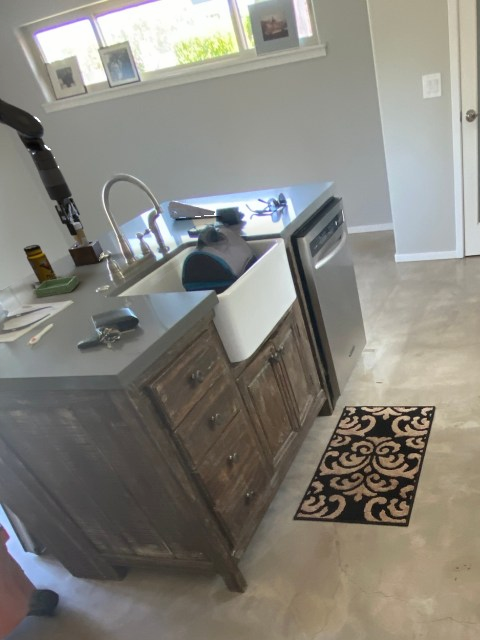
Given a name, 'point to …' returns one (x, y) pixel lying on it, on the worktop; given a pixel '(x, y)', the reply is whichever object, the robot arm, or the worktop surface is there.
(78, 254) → the brown wooden box
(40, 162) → the robot arm
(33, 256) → the condiment
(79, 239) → the sprinkles bottle
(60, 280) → the tray
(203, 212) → the grey tapered wedge
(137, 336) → the worktop surface
